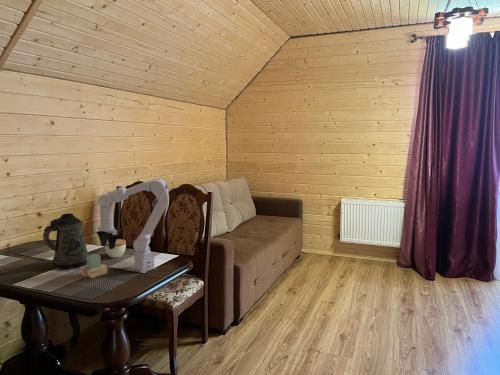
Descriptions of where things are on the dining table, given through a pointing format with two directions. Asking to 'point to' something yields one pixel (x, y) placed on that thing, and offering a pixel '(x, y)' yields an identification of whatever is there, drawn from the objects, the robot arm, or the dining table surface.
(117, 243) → the lidded jar
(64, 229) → the beer stein
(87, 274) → the birch base block
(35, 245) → the dining table surface
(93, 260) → the teal block
